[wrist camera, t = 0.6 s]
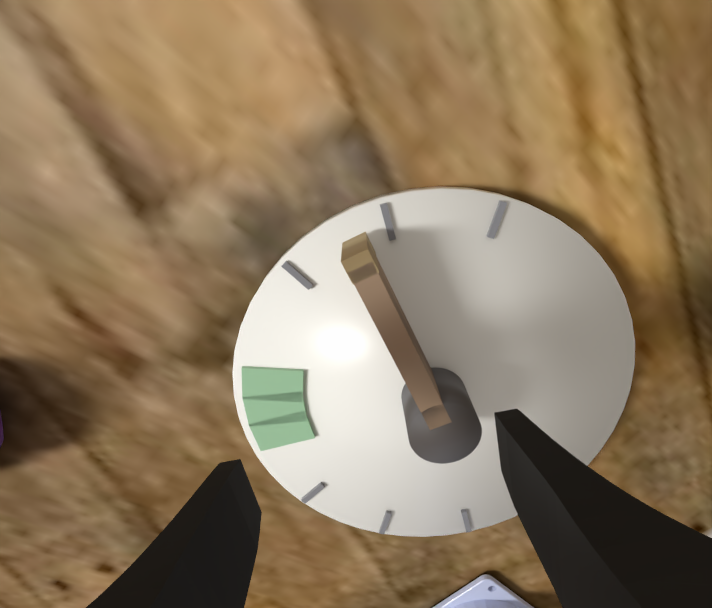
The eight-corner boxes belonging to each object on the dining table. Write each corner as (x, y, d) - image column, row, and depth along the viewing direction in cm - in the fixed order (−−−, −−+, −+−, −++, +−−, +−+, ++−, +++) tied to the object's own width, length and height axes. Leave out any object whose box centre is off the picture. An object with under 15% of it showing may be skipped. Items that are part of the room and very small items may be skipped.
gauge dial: (698, 375, 23) (715, 388, 22) (419, 569, 29) (422, 587, 28) (444, 81, 18) (450, 78, 17) (159, 386, 23) (150, 400, 22)
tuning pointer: (474, 407, 23) (492, 448, 20) (416, 430, 23) (425, 473, 20) (387, 219, 19) (393, 236, 16) (320, 251, 19) (315, 273, 17)
